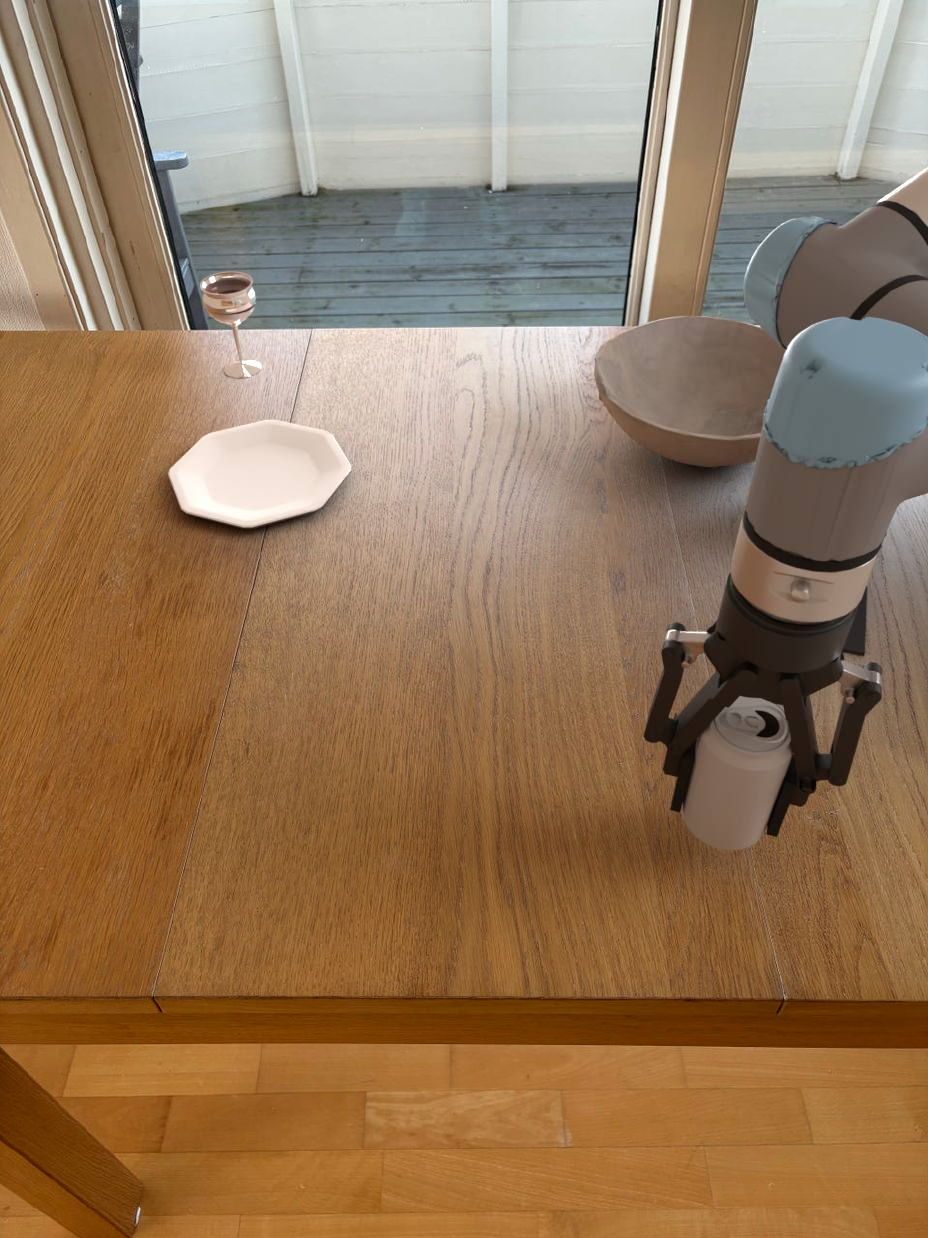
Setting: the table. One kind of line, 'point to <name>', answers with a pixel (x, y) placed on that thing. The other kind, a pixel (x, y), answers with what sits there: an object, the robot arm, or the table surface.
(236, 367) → the wineglass
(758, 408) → the bowl
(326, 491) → the plate
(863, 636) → the coaster
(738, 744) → the beverage can
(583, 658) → the table surface
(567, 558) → the table surface
